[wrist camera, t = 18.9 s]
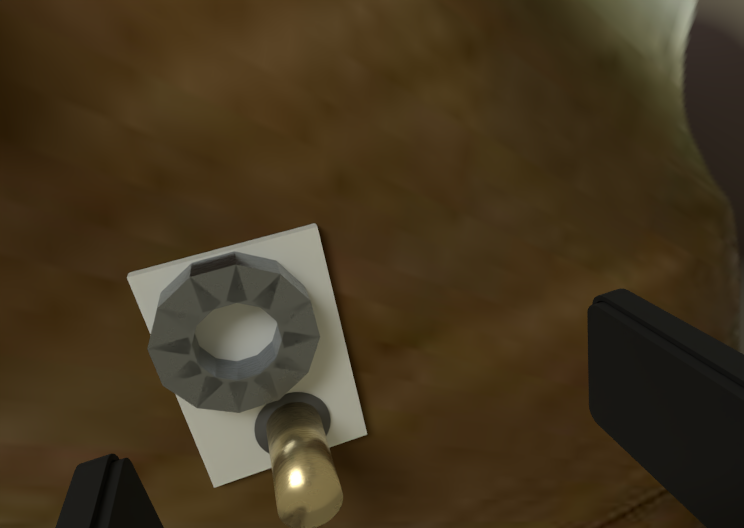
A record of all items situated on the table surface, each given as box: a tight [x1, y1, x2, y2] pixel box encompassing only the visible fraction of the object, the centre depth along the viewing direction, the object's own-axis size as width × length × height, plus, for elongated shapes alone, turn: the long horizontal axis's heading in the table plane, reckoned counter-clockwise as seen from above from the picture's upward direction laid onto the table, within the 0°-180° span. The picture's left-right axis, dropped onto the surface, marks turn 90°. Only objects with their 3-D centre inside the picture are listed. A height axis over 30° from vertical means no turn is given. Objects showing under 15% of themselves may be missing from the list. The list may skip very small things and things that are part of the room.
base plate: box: [127, 223, 367, 488], centre depth 46 cm, size 15×22×1 cm
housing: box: [148, 251, 320, 413], centre depth 42 cm, size 13×13×3 cm
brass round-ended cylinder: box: [266, 402, 343, 528], centre depth 44 cm, size 5×5×10 cm
